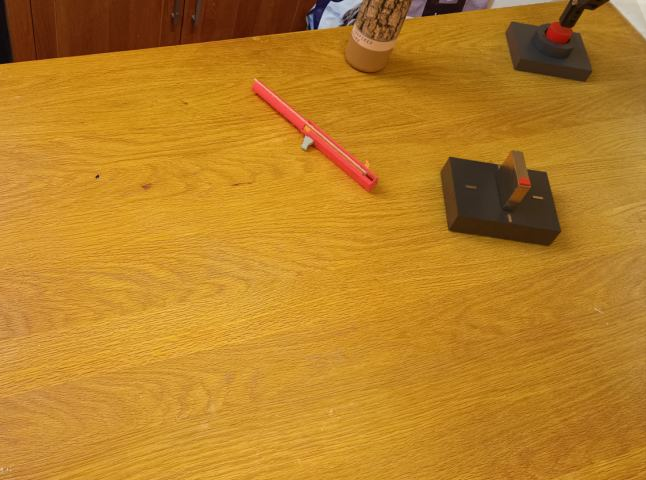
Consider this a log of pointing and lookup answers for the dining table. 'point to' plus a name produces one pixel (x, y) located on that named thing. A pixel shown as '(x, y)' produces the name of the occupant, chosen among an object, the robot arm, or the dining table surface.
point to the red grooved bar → (319, 139)
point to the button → (558, 33)
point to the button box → (547, 52)
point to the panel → (497, 204)
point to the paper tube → (375, 33)
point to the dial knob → (512, 180)
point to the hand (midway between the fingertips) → (565, 24)
